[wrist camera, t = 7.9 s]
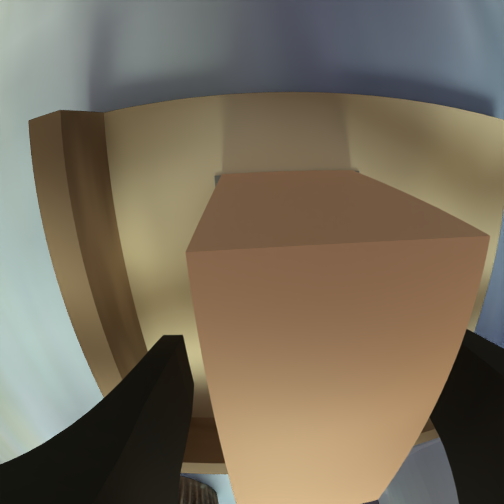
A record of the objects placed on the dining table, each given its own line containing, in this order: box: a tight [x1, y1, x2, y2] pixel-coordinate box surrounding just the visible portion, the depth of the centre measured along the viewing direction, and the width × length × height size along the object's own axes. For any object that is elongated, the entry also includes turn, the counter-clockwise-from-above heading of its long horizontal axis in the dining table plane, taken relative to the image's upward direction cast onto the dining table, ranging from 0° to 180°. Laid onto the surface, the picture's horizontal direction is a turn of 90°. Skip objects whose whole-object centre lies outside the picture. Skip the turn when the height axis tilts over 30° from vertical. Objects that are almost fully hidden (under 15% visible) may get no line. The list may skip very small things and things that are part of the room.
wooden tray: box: [29, 92, 504, 474], centre depth 11 cm, size 16×18×4 cm
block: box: [185, 170, 490, 504], centre depth 9 cm, size 4×9×7 cm, turn 3°
